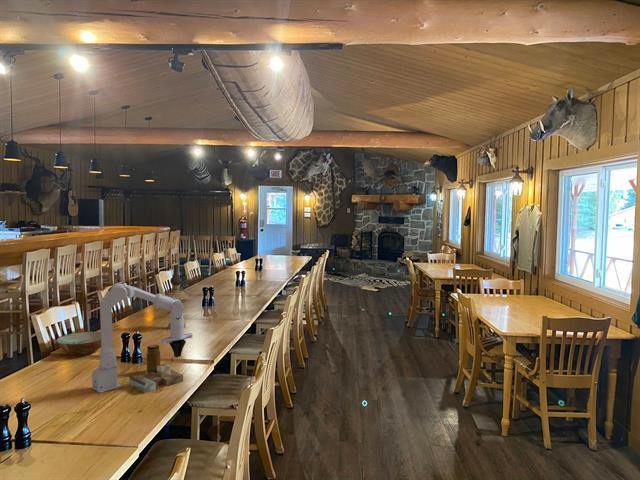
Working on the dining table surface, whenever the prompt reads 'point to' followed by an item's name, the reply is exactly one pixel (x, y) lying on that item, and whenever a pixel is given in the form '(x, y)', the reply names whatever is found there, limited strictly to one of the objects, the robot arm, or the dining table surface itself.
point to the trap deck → (154, 381)
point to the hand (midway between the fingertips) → (177, 356)
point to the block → (163, 370)
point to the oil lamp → (176, 289)
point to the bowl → (80, 342)
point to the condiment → (152, 358)
